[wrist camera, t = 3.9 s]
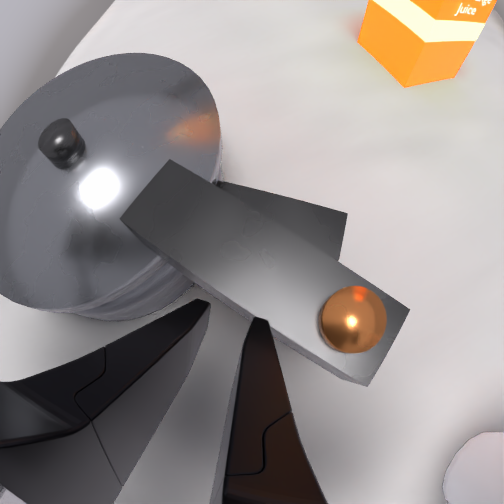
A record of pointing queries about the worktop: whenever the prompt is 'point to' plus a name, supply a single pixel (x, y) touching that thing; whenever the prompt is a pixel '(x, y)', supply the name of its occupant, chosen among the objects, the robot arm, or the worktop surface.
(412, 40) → the orange juice
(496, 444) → the foam cup
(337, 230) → the cooker pot
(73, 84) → the cooker lid
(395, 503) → the worktop surface
